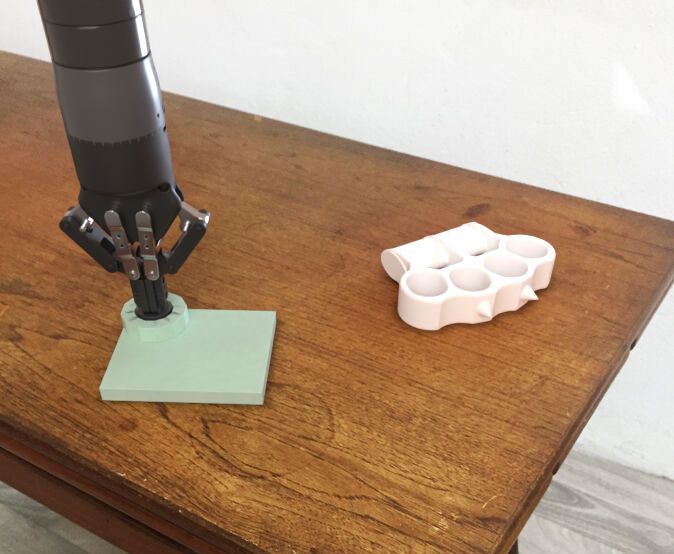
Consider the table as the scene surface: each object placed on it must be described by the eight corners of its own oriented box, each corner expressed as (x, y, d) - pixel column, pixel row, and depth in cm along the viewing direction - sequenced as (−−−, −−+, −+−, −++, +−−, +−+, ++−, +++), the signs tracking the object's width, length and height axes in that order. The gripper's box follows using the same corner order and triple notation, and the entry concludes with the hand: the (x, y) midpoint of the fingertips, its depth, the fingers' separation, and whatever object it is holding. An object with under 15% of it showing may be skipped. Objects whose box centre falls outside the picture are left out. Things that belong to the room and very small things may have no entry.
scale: (102, 400, 65) (94, 373, 63) (135, 316, 73) (129, 290, 71) (263, 404, 64) (260, 378, 62) (276, 320, 73) (275, 294, 71)
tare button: (137, 330, 69) (133, 316, 68) (144, 312, 71) (141, 298, 70) (169, 331, 69) (166, 317, 68) (175, 312, 71) (172, 299, 70)
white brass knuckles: (487, 234, 85) (579, 296, 76) (354, 279, 78) (438, 352, 69) (491, 206, 82) (587, 267, 74) (355, 250, 76) (442, 323, 67)
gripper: (11, 136, 54) (71, 331, 66) (192, 139, 54) (218, 334, 66) (43, 97, 59) (94, 284, 72) (208, 100, 59) (230, 287, 71)
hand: (153, 308), depth 69 cm, fingers closed
